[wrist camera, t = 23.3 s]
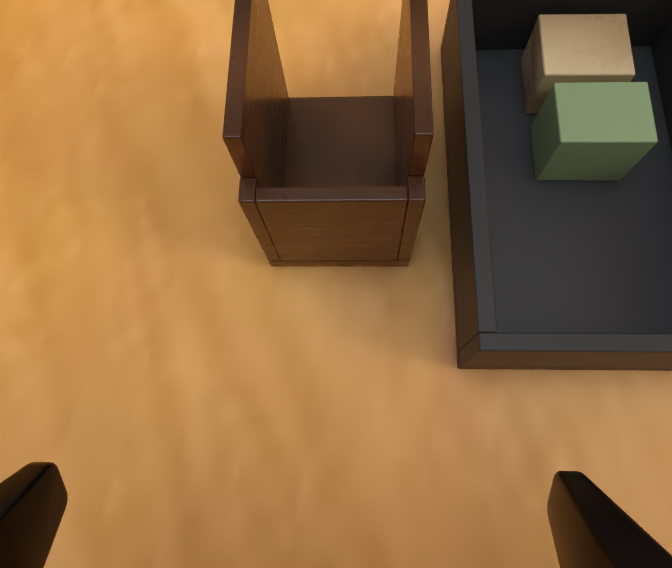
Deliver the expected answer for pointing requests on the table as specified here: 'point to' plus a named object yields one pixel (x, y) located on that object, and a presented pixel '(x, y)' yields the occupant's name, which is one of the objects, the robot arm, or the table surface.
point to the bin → (553, 207)
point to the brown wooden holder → (329, 151)
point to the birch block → (574, 53)
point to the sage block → (592, 131)
